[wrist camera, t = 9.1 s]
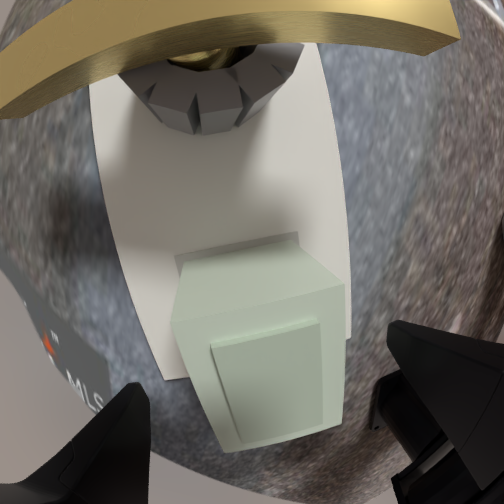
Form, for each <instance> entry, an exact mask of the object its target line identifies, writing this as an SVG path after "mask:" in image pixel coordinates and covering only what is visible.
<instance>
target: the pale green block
mask: <svg viewBox="0 0 504 504" xmlns="http://www.w3.org/2000/svg"><path fill="white" fill-rule="evenodd" d="M170 324H171V327H172V330H173V333H174V336H175V339H176V342H177V344H178V347H179V350H180V352H181V355H182V358H183V360H184V363H185V366H186V368H187V371H188V373H189V376H190V378H191V381H192V383H193V386H194V388H195V391H196V393H197V395H198V398H199V400H200V402H201V405H202V407H203V409H204V411H205V414H206V416H207V418H208V420H209V422H210V425H211V427H212V429H213V431H214V433H215V435H216V437H217V439H218V441H219V444H220V446H221V448H222V450H223V452H224V453H230V452H236V451H242V450H248V449H253V448H258V447H262V446H267V445H271V444H276V443H280V442H284V441H287V440H291V439H295V438H299V437H302V436H305V435H309V434H312V433H315V432H319V431H322V430H325V429H328V428H331V427H333V426H336V425H339V424H342V412H343V398H344V379H345V345H346V314H345V283H343V282H342V281H341V280H340V279H339V278H337V277H336V276H335V275H334V274H333V273H331V272H330V271H329V270H328V269H326V268H325V267H324V266H323V265H322V264H320V263H319V262H318V261H317V260H315V259H314V258H313V257H312V256H310V255H309V254H308V253H307V252H306V251H304V250H303V249H302V248H301V247H299V246H298V245H297V244H296V243H294V242H293V241H292V240H287V241H282V242H277V243H272V244H267V245H262V246H257V247H252V248H248V249H243V250H238V251H233V252H228V253H223V254H218V255H214V256H209V257H204V258H199V259H194V260H189V261H185V262H184V264H183V268H182V272H181V276H180V280H179V284H178V289H177V293H176V297H175V302H174V306H173V311H172V315H171V320H170Z"/></svg>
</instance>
